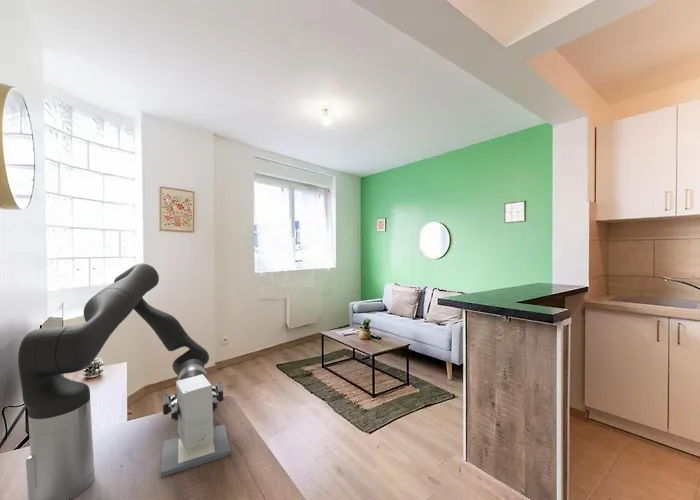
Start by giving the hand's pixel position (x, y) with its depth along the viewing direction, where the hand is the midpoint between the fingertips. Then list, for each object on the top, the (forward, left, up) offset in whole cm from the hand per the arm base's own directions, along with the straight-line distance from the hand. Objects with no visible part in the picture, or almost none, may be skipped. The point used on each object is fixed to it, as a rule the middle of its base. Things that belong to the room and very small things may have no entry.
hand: (195, 411), depth 73 cm
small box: (0, +2, -7) cm, 8 cm away
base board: (0, +2, -10) cm, 10 cm away
